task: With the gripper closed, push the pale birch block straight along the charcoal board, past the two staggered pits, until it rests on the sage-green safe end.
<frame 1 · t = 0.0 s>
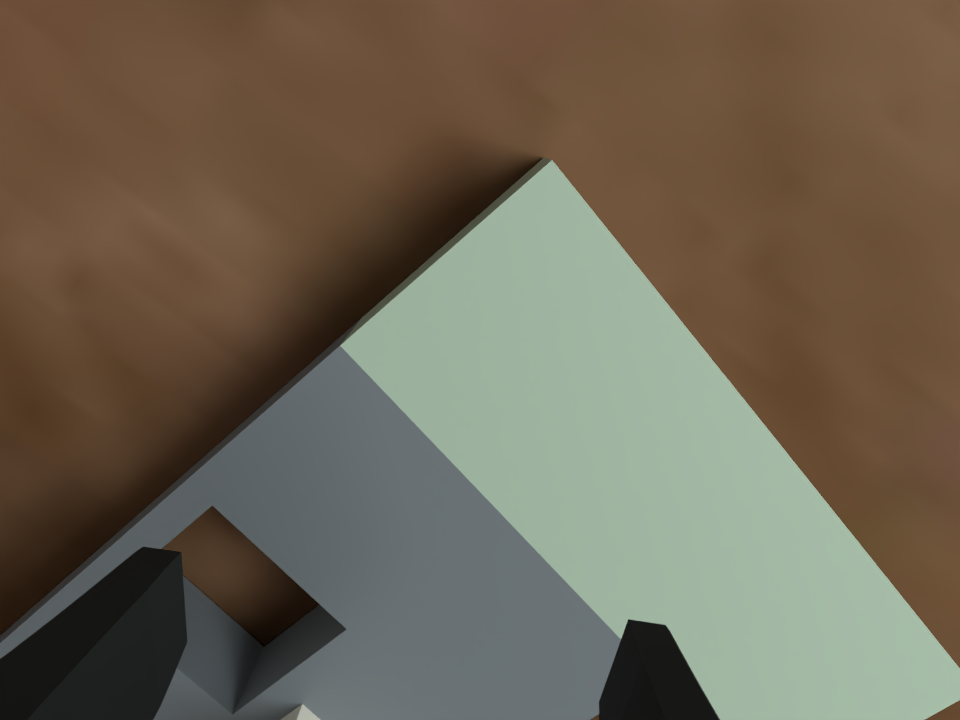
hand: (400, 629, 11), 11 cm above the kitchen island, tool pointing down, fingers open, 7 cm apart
trap board: (415, 652, 24), on the kitchen island
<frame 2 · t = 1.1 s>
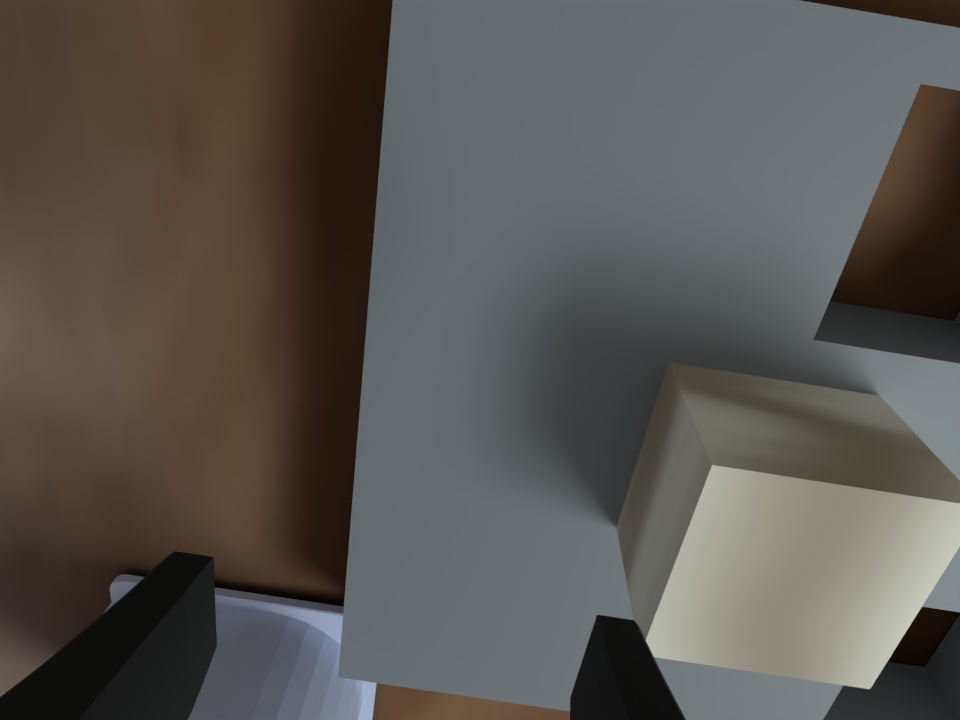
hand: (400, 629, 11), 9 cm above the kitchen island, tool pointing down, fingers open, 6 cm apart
trap board: (862, 428, 20), on the kitchen island
birch block: (739, 465, 17), point 3 cm above the kitchen island, touching trap board
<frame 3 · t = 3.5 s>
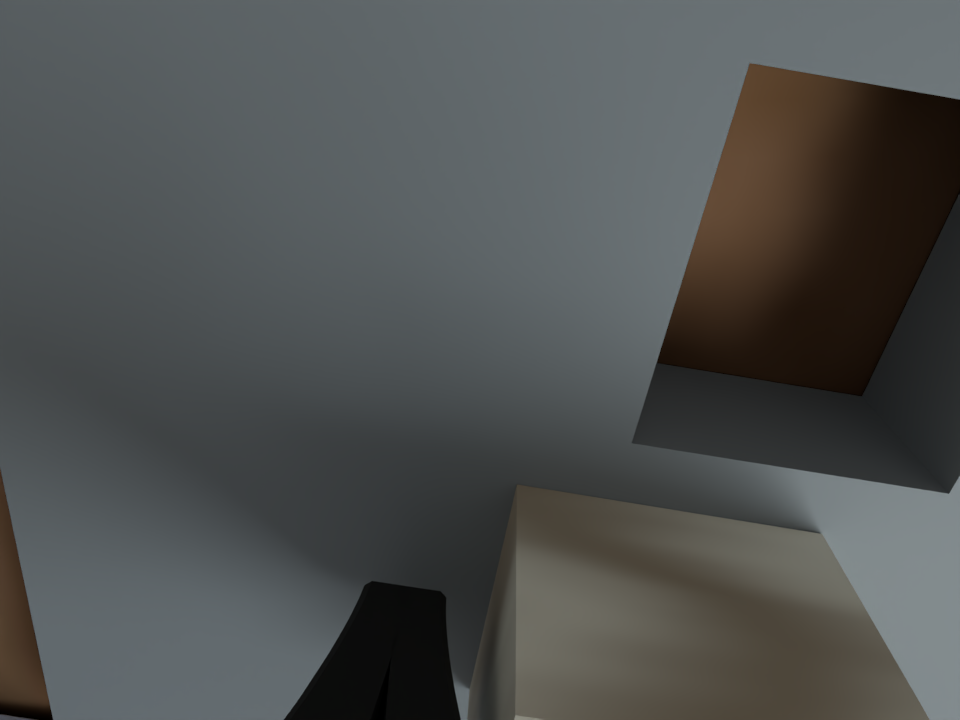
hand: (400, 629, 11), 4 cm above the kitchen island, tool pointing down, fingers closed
trap board: (749, 530, 15), on the kitchen island
birch block: (630, 618, 12), point 3 cm above the kitchen island, touching gripper
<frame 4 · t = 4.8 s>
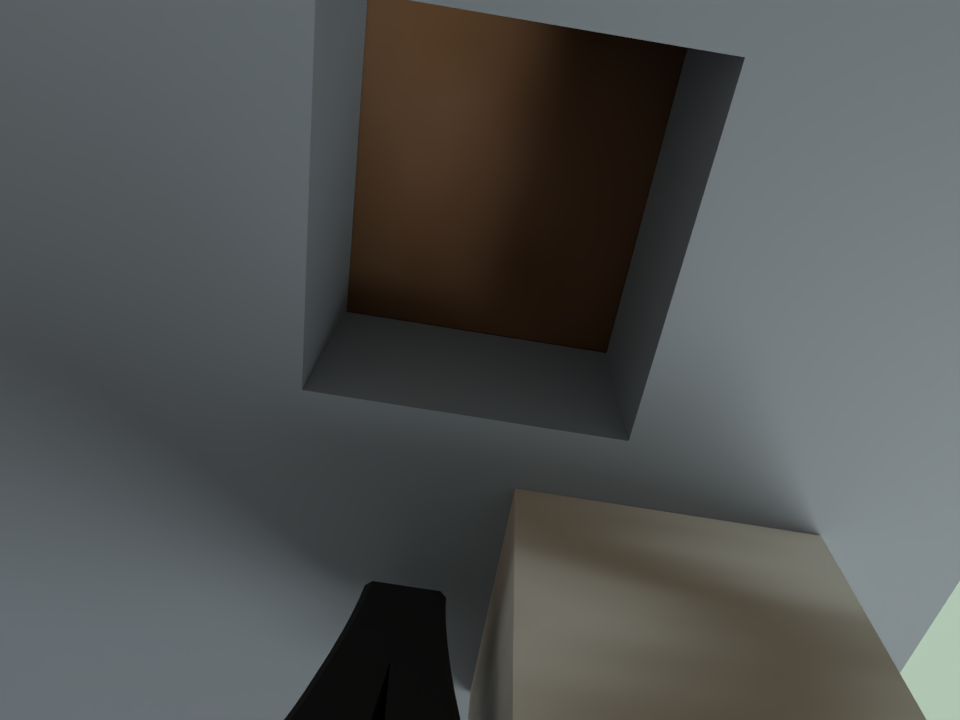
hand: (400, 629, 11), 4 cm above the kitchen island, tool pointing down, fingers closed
trap board: (521, 493, 15), on the kitchen island
birch block: (629, 621, 12), point 3 cm above the kitchen island, touching gripper
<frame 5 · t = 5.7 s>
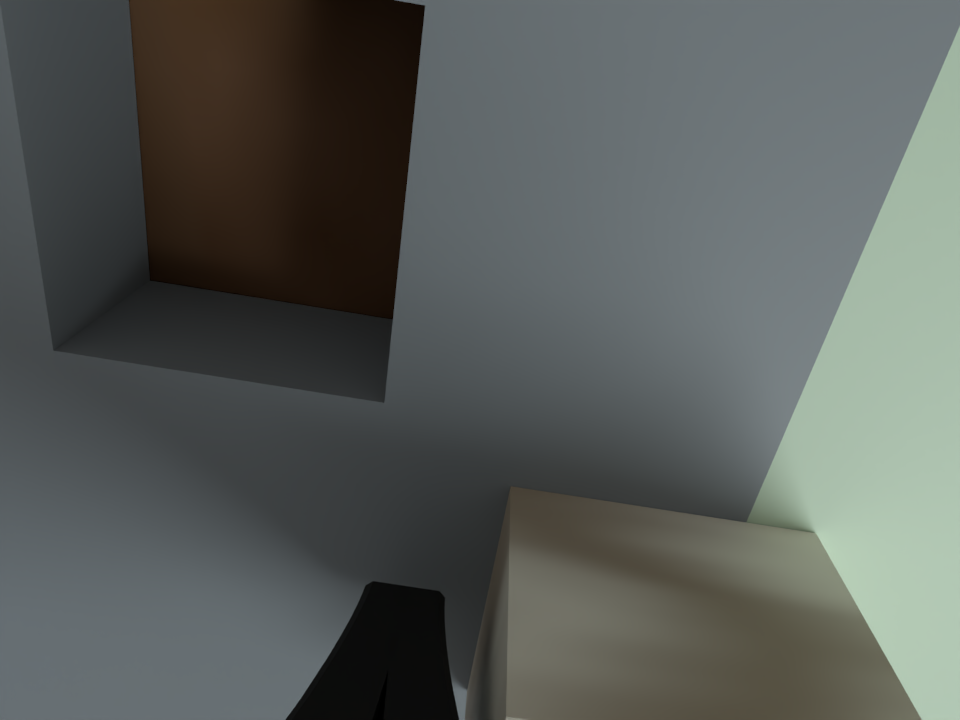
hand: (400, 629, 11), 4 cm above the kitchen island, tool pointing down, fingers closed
trap board: (348, 466, 15), on the kitchen island
birch block: (625, 619, 12), point 3 cm above the kitchen island, touching gripper
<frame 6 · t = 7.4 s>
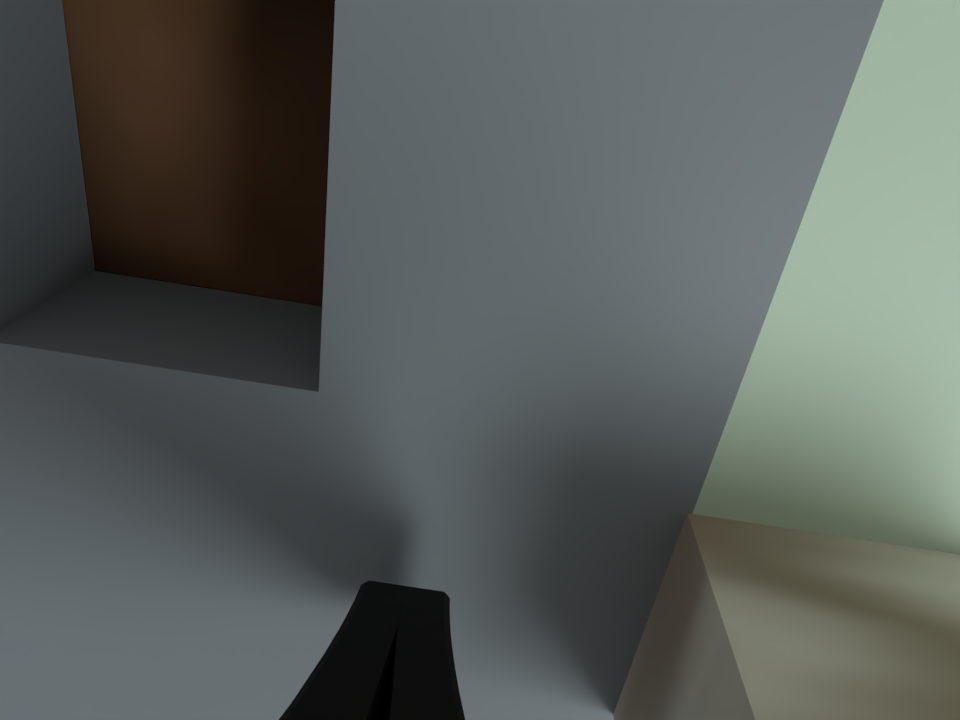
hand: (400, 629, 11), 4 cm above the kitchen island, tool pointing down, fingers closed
trap board: (303, 459, 14), on the kitchen island
birch block: (786, 644, 12), point 3 cm above the kitchen island, touching trap board
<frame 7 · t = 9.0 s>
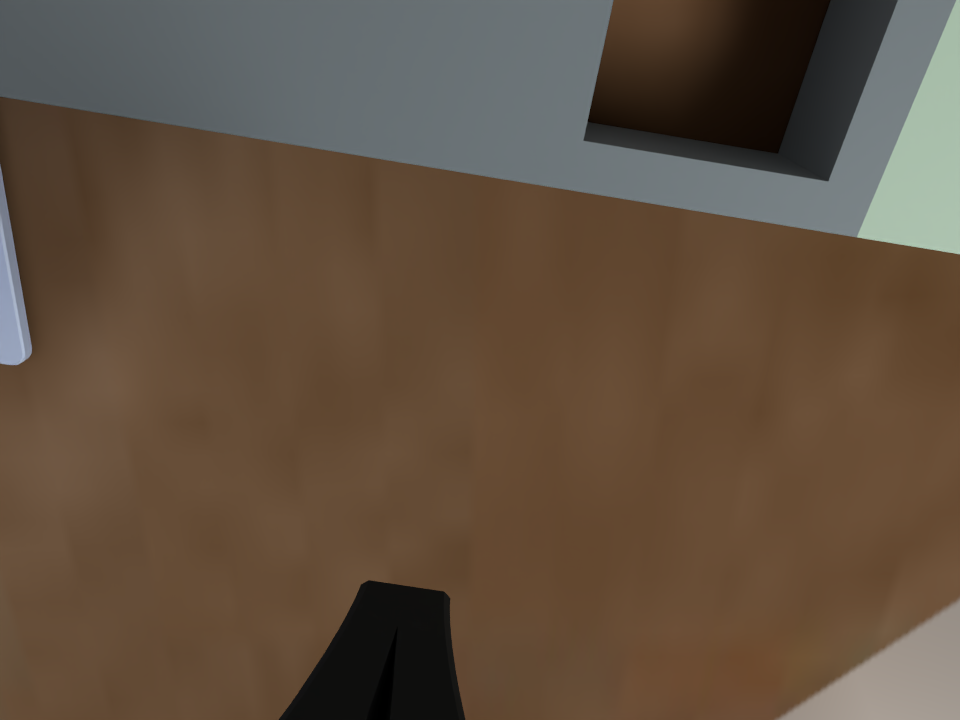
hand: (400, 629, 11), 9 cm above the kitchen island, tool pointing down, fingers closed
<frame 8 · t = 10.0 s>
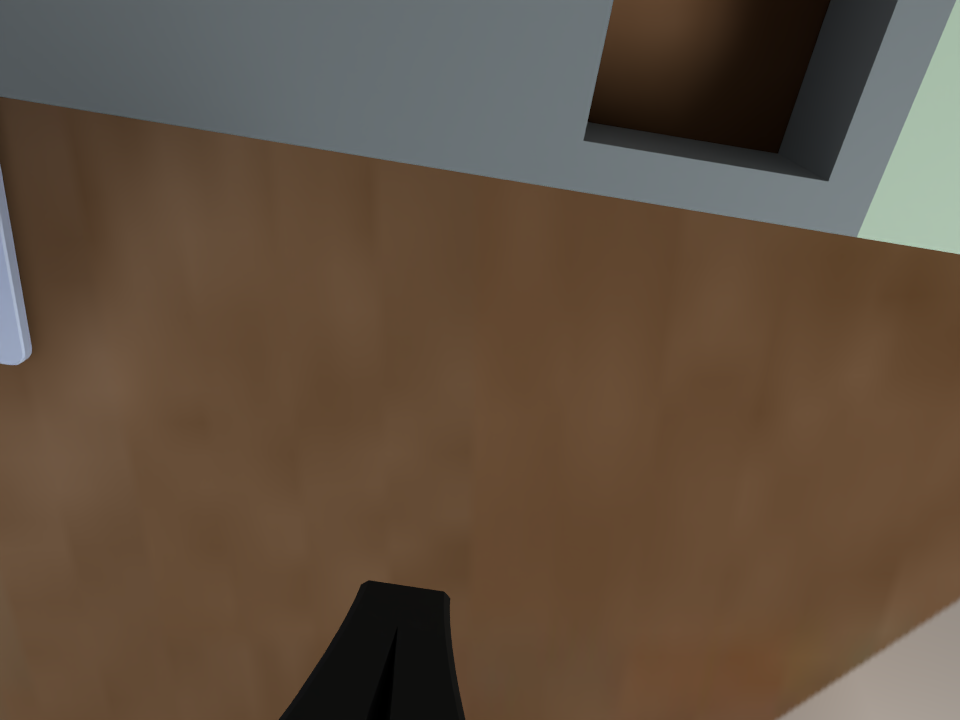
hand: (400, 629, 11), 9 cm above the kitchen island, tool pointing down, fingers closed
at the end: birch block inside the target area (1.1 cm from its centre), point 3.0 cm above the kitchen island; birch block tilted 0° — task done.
